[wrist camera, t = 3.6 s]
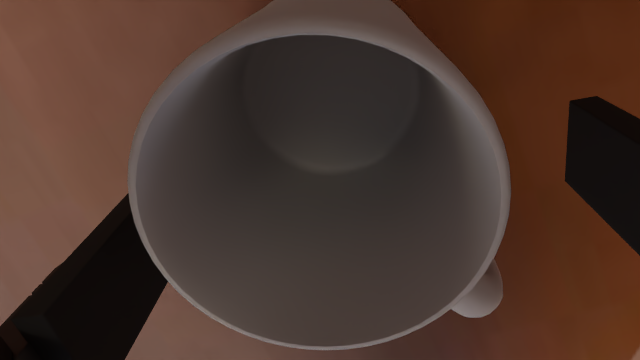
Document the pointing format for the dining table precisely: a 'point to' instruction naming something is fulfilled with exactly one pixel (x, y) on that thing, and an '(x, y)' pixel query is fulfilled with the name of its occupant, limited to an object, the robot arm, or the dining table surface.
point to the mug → (322, 178)
